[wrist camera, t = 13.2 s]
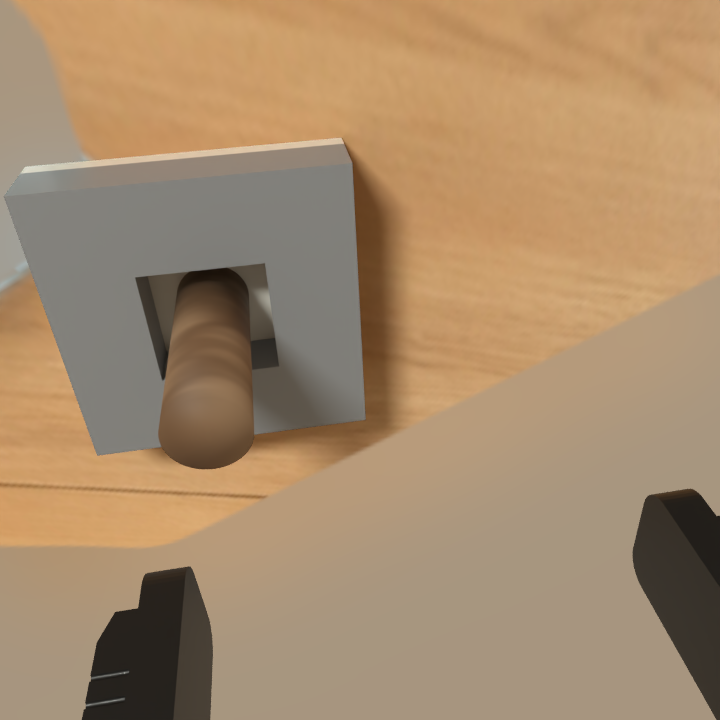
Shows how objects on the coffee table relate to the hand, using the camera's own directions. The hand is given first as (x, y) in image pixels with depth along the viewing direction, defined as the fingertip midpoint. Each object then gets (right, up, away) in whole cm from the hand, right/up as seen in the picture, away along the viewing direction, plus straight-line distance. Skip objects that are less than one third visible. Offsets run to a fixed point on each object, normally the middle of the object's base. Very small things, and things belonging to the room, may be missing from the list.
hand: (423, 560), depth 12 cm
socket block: (-10, +8, +28) cm, 30 cm away
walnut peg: (-9, +7, +27) cm, 29 cm away
